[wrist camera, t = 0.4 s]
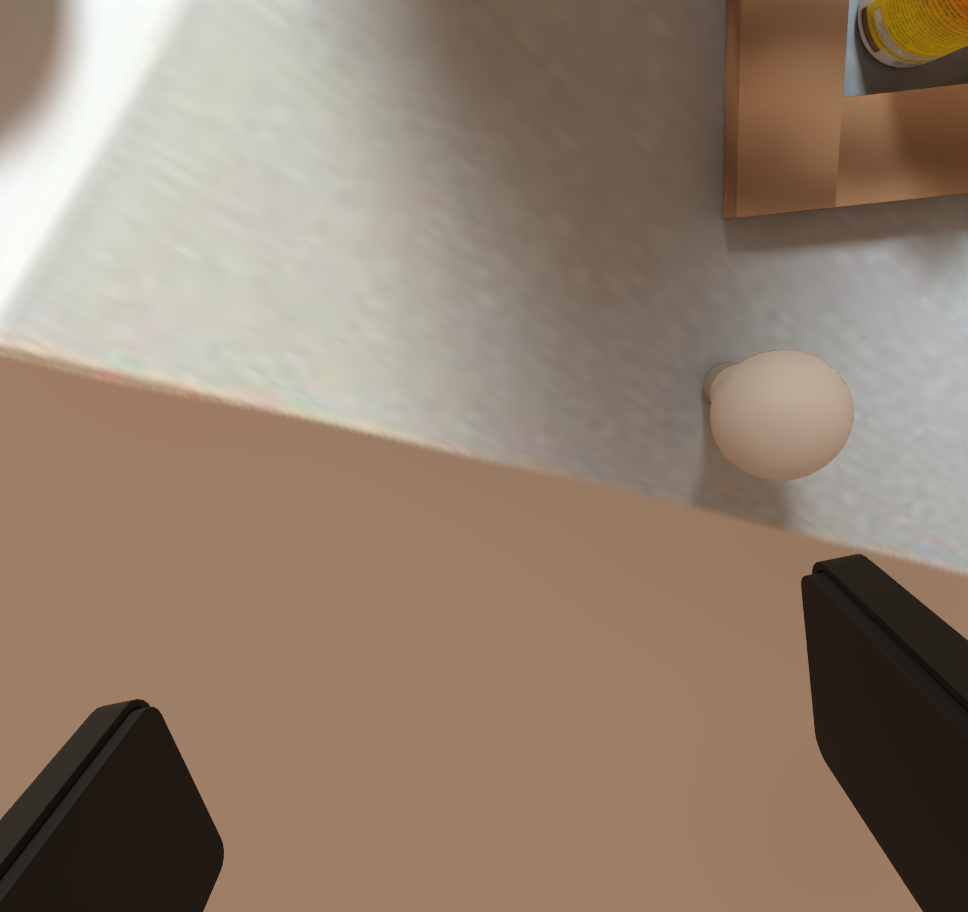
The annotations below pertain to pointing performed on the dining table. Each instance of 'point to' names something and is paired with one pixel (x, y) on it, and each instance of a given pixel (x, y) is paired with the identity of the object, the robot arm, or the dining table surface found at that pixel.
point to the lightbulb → (779, 413)
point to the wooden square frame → (826, 119)
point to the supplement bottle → (912, 29)
